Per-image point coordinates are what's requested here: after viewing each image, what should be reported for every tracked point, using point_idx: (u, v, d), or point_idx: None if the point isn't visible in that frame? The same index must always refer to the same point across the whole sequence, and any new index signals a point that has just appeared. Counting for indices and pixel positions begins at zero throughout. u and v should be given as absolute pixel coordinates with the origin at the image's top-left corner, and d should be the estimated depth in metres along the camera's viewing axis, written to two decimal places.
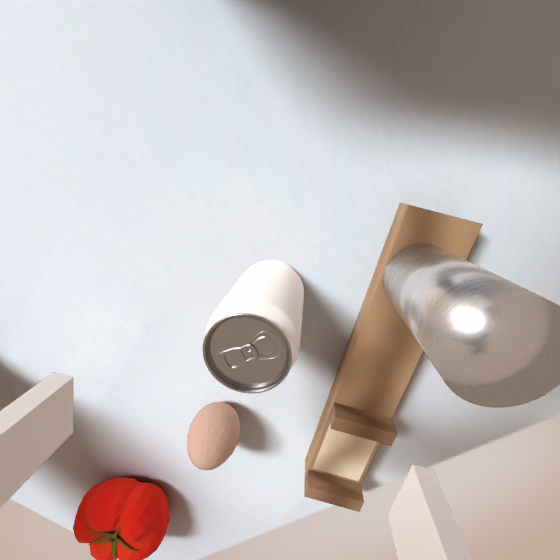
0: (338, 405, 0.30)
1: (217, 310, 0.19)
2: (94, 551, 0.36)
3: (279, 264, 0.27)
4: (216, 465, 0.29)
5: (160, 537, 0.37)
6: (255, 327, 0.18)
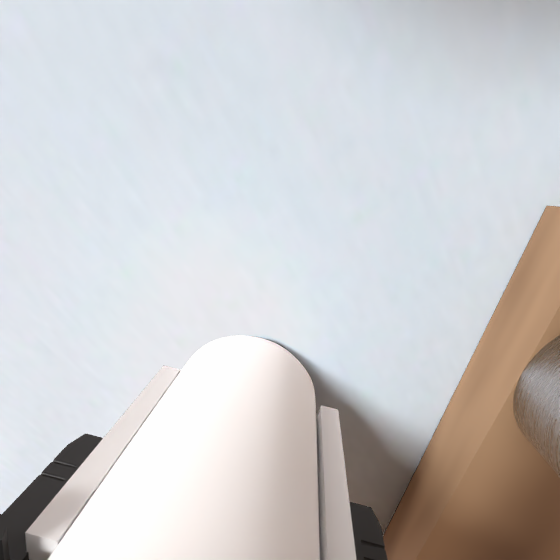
0: None
1: None
2: None
3: (259, 352, 0.12)
4: None
5: None
6: None
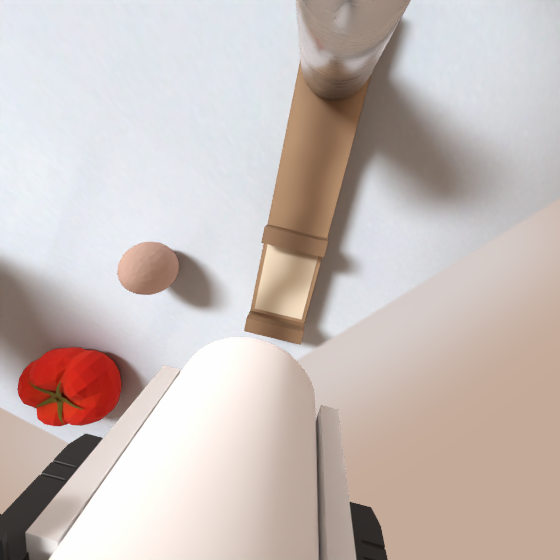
0: (271, 225, 0.29)
1: None
2: (40, 413, 0.35)
3: (259, 353, 0.12)
4: (145, 283, 0.28)
5: (108, 400, 0.36)
6: None
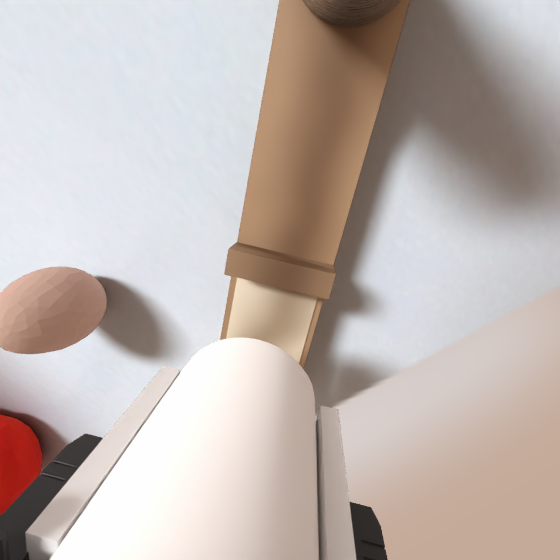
0: (243, 244, 0.18)
1: None
2: None
3: (259, 354, 0.12)
4: (30, 341, 0.17)
5: (13, 491, 0.25)
6: None
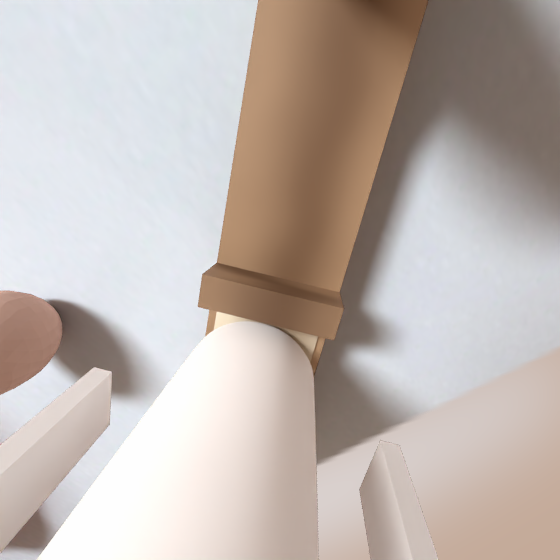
0: (224, 266, 0.14)
1: None
2: None
3: (263, 334, 0.13)
4: None
5: None
6: None
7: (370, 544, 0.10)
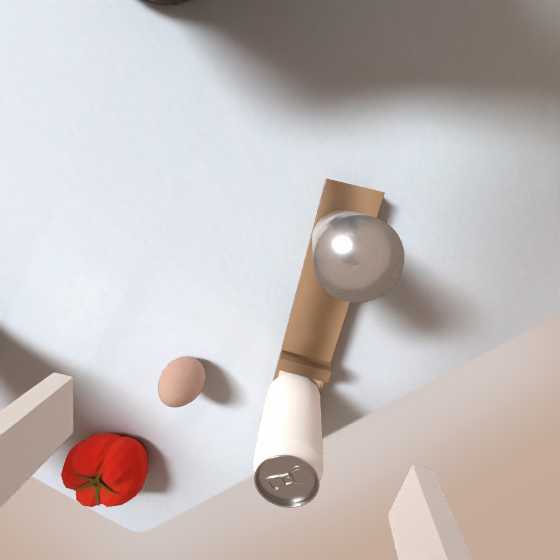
0: (285, 352, 0.35)
1: (263, 445, 0.26)
2: (79, 496, 0.41)
3: (301, 380, 0.34)
4: (181, 402, 0.34)
5: (138, 484, 0.41)
6: (293, 463, 0.25)
7: None
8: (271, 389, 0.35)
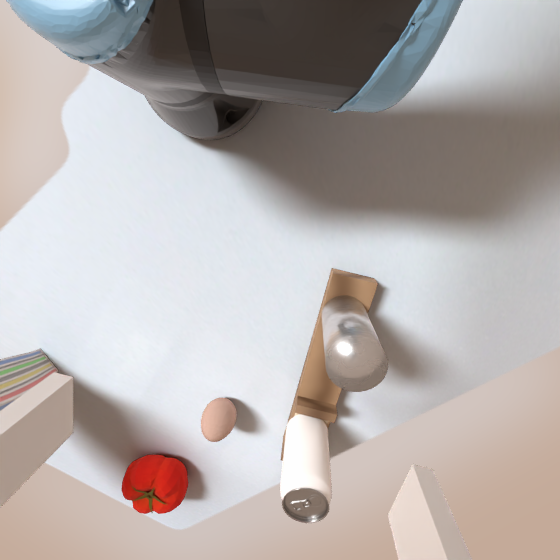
0: (300, 397, 0.45)
1: (288, 479, 0.36)
2: (136, 505, 0.51)
3: (313, 420, 0.44)
4: (220, 438, 0.44)
5: (182, 495, 0.52)
6: (310, 492, 0.35)
7: None
8: (289, 427, 0.44)
